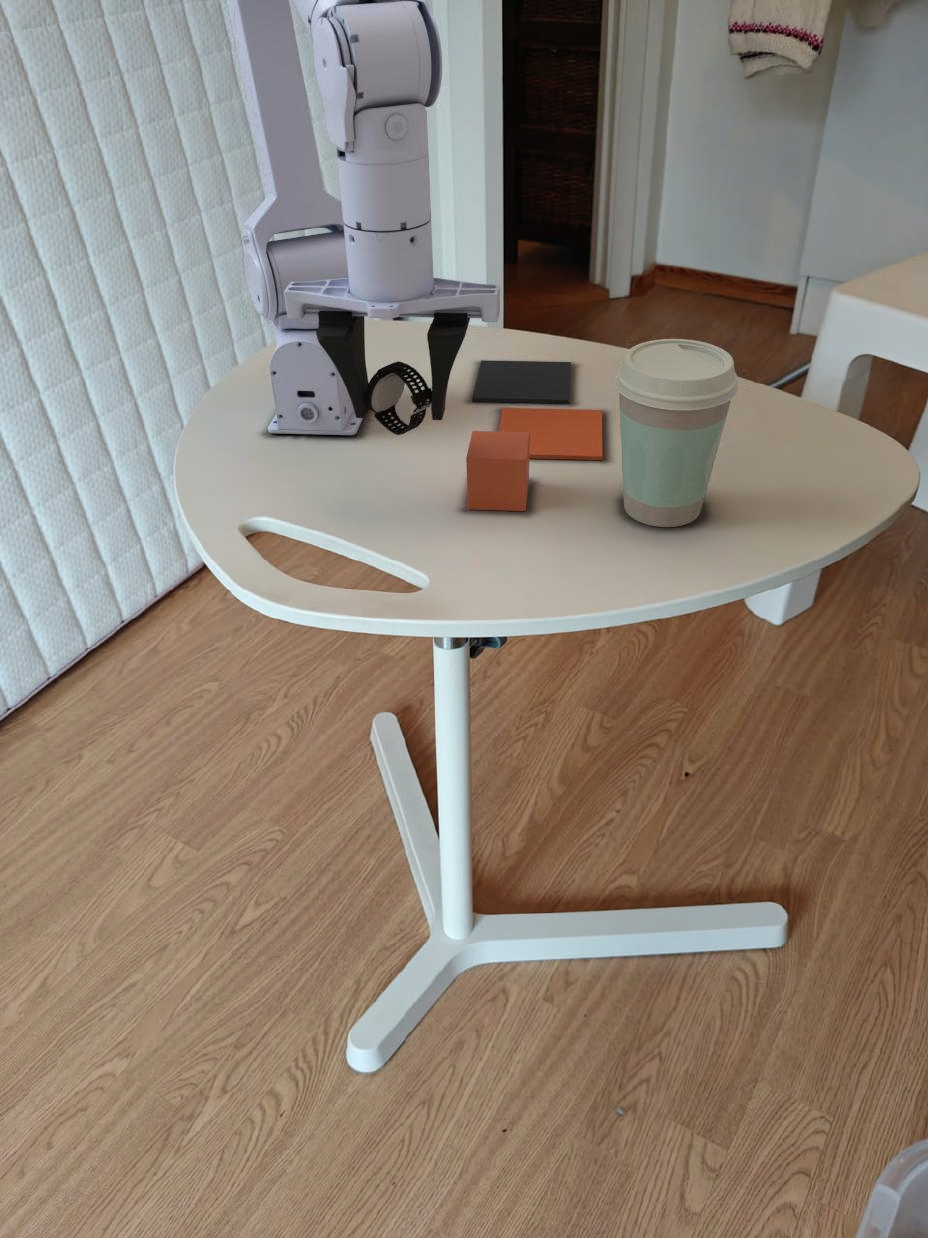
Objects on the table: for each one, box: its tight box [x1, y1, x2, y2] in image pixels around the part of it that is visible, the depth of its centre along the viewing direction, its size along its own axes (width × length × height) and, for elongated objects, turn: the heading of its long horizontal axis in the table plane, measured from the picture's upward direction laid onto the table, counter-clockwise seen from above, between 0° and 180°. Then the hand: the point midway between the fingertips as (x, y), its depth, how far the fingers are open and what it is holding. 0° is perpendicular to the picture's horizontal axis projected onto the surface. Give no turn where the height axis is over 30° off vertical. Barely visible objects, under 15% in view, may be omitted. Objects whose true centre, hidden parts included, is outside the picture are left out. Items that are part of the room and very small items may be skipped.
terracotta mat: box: [498, 407, 604, 461], centre depth 86 cm, size 9×9×1 cm
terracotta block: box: [465, 430, 530, 512], centre depth 76 cm, size 4×4×4 cm
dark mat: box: [471, 359, 572, 405], centre depth 95 cm, size 9×9×1 cm
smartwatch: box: [365, 360, 432, 436], centre depth 71 cm, size 4×5×5 cm
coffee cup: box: [614, 338, 739, 528], centre depth 72 cm, size 8×8×12 cm
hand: (400, 413), depth 72 cm, fingers closed on smartwatch, 5 cm apart
